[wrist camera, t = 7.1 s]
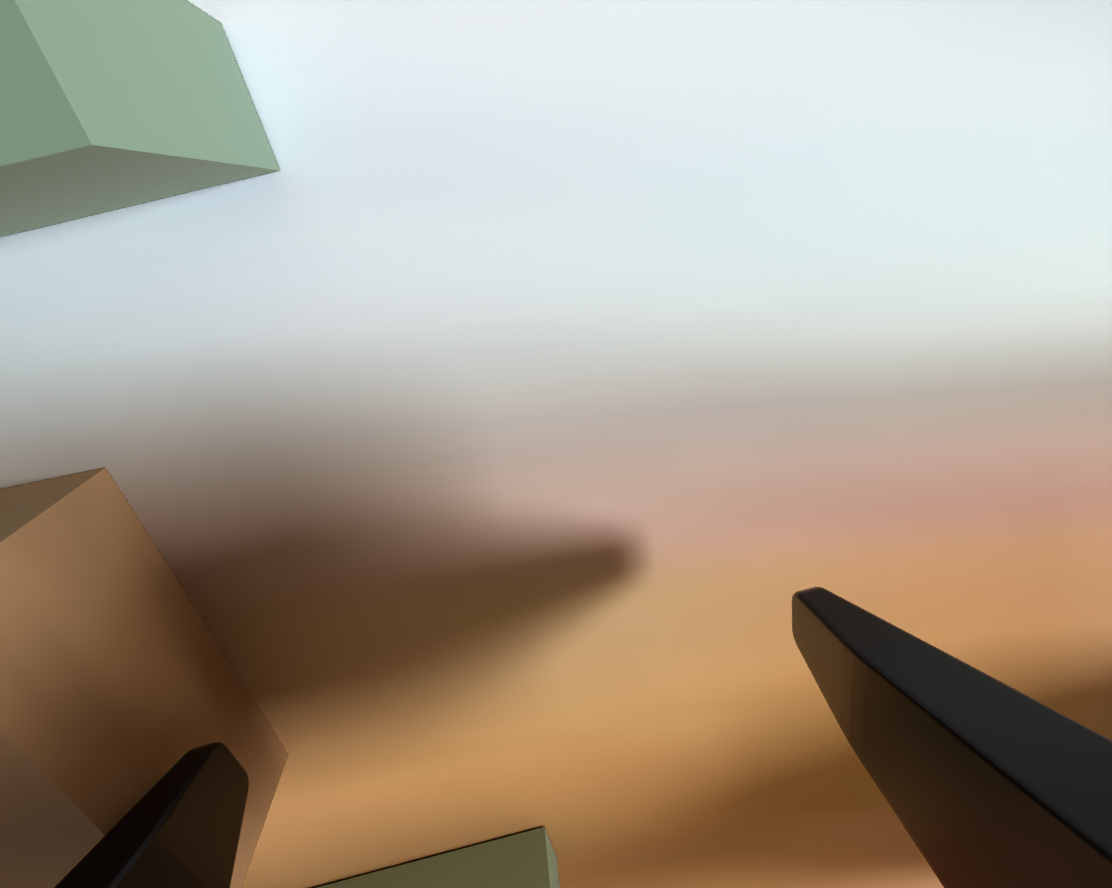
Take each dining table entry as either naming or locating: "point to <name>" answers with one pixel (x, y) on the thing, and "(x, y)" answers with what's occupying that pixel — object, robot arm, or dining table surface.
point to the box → (155, 173)
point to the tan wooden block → (104, 680)
